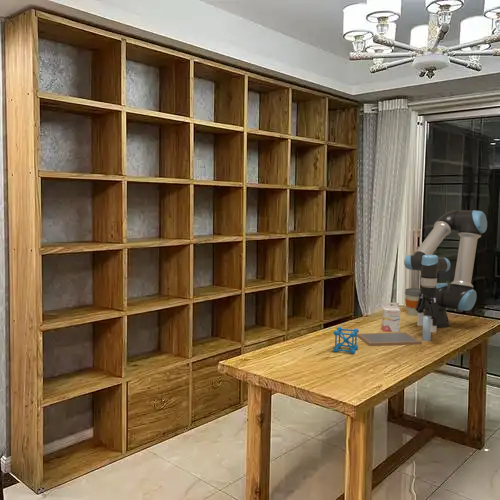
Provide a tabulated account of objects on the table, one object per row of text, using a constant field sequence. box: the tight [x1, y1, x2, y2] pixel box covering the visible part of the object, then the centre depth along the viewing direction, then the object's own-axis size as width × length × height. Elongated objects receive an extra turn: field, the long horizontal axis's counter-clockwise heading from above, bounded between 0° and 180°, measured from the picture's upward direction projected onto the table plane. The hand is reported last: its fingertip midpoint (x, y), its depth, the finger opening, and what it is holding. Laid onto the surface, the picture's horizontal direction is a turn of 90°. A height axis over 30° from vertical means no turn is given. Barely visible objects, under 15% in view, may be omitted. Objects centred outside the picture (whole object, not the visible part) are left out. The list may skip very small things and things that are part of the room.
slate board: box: [357, 331, 423, 347], centre depth 262 cm, size 26×18×1 cm
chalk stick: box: [421, 315, 432, 342], centre depth 262 cm, size 4×4×12 cm
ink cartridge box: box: [381, 302, 401, 333], centre depth 280 cm, size 9×5×15 cm, turn 84°
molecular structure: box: [332, 326, 360, 355], centre depth 242 cm, size 10×10×10 cm
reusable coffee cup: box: [404, 287, 424, 317], centre depth 320 cm, size 13×13×15 cm
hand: (426, 328), depth 262 cm, fingers open, 13 cm apart
